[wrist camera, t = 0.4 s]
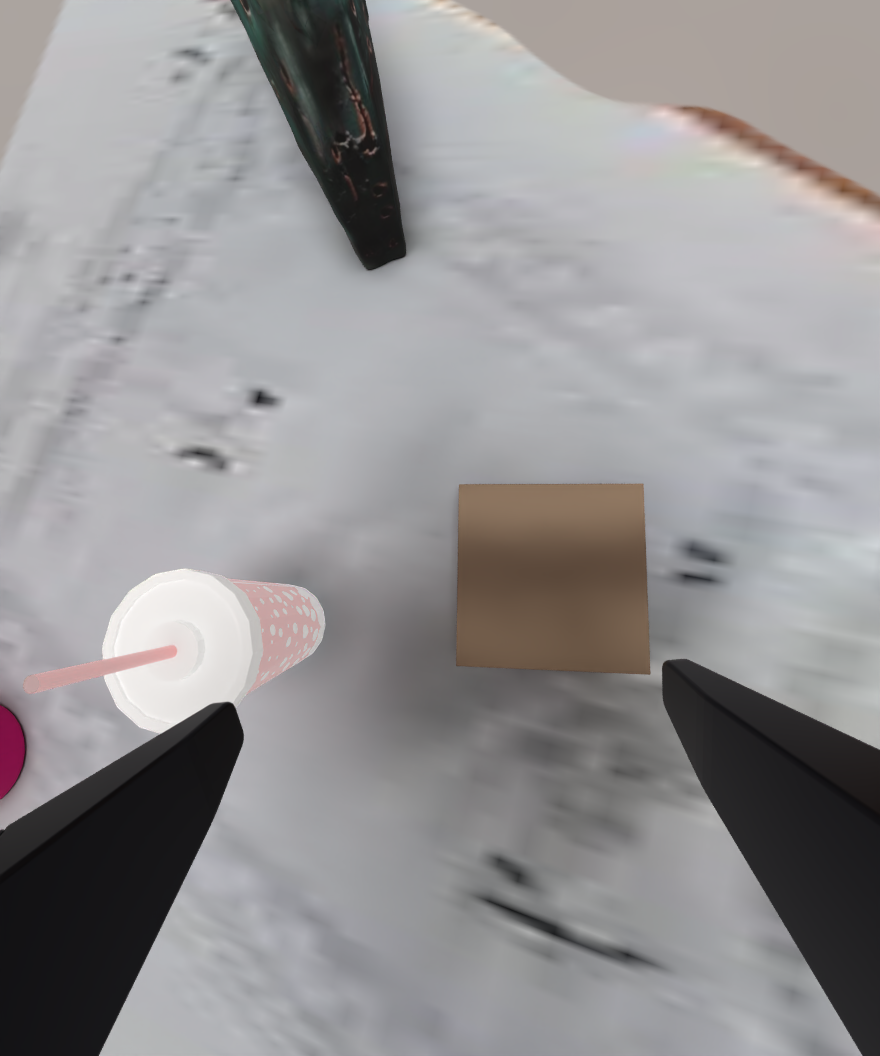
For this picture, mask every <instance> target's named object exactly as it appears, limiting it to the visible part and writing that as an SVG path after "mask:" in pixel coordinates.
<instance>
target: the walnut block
mask: <svg viewBox="0 0 880 1056" xmlns="http://www.w3.org/2000/svg"><path fill="white" fill-rule="evenodd" d="M456 666H469V667H491V668H514V669H536V670H559V671H582V672H604V673H627V674H649V675H650V651H649V623H648V596H647V569H646V542H645V515H644V487H643V484H461V485H459V520H458V584H457V649H456Z"/></svg>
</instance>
